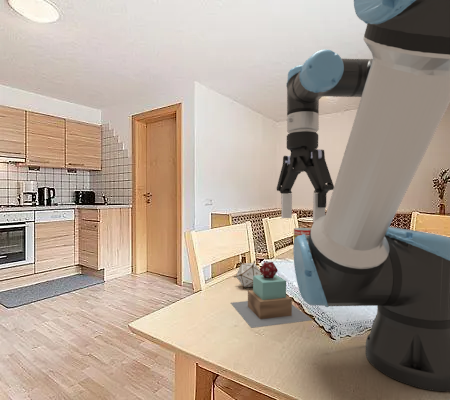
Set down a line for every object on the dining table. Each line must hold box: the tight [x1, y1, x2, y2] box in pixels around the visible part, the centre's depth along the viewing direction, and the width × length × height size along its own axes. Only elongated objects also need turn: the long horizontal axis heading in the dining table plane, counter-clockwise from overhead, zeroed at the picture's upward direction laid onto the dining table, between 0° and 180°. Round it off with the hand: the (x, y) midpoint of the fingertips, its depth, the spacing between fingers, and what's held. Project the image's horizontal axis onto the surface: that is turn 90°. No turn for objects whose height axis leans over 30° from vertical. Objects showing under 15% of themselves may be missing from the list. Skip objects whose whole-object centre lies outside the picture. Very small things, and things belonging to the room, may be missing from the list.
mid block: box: [252, 273, 287, 300], centre depth 75 cm, size 6×6×4 cm
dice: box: [259, 261, 278, 278], centre depth 75 cm, size 4×4×4 cm
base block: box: [247, 289, 293, 319], centre depth 75 cm, size 8×8×4 cm
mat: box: [230, 300, 313, 329], centre depth 75 cm, size 15×15×1 cm
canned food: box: [293, 227, 311, 241], centre depth 142 cm, size 8×8×12 cm
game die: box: [233, 260, 262, 290], centre depth 93 cm, size 9×8×10 cm
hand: (301, 220), depth 75 cm, fingers open, 13 cm apart
